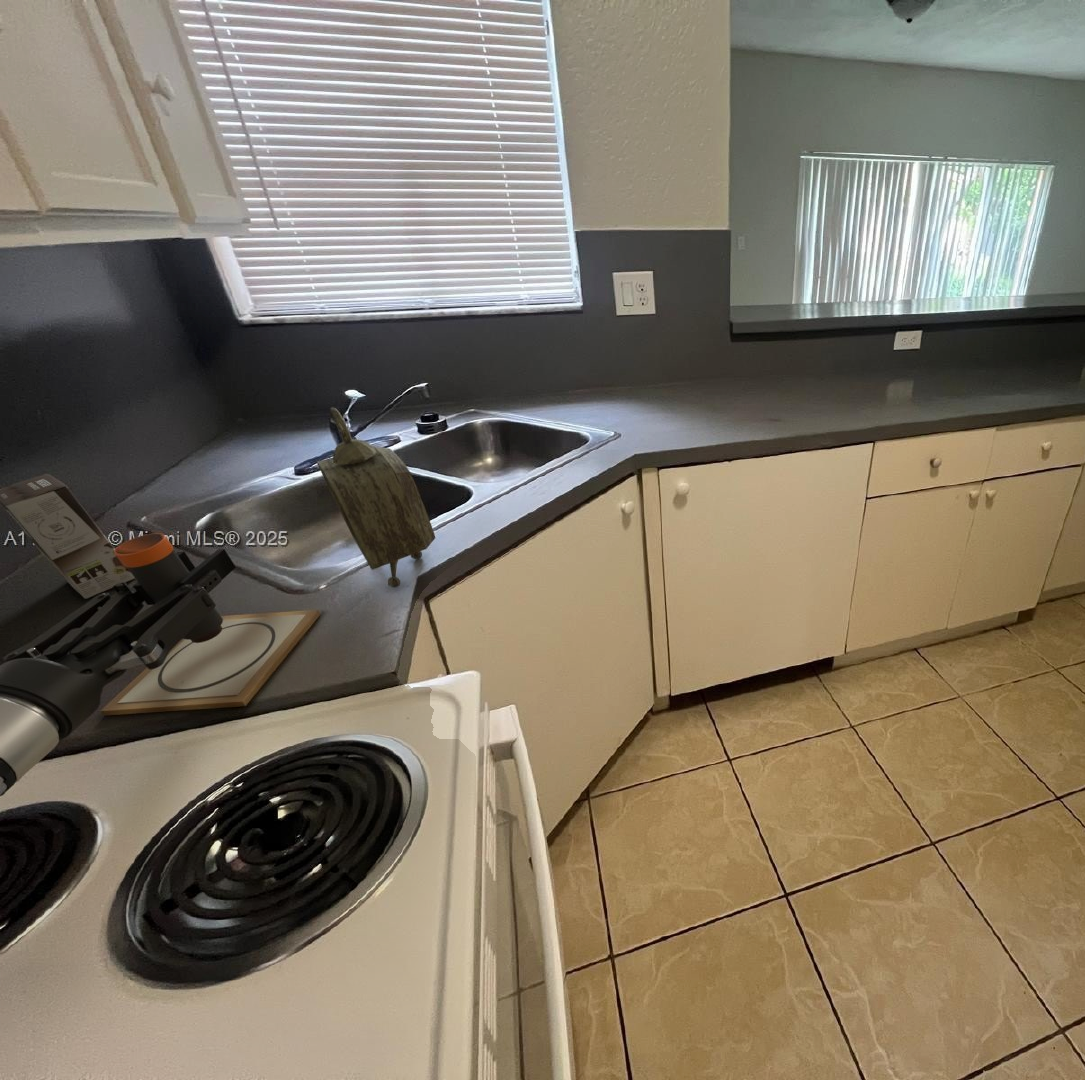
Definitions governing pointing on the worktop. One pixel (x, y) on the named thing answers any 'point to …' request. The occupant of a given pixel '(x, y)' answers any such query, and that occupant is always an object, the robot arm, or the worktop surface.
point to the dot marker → (163, 576)
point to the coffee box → (64, 534)
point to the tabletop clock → (377, 501)
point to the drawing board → (216, 666)
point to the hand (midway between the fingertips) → (206, 559)
